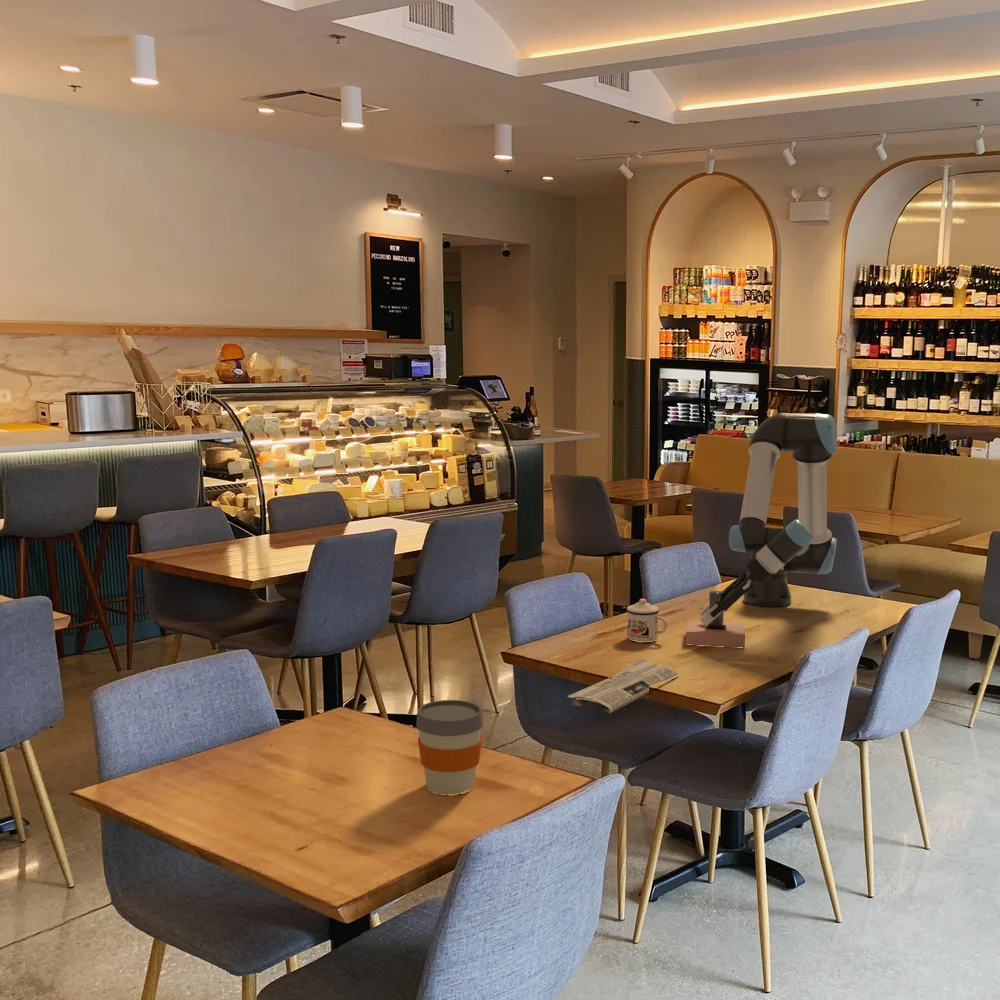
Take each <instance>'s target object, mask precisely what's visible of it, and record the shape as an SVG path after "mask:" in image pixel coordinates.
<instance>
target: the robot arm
mask: <svg viewBox="0 0 1000 1000" xmlns="http://www.w3.org/2000/svg"><path fill="white" fill-rule="evenodd" d="M747 451H748V454H749V456H750V459H749V464H748V470H747V471H748V472H747V476H746V481H745V482H746V483H745V489H744V493H743V500H742V504H741V510H740V511H741V512H740V518H739V523H738V524H734V525H731V527H730V528H729V529H730V530H729V534H728V544H729V545H728V546H729V548H730V550H731V551H734V552H739V553H740V552H741V553H750V554H749V555H750V556H749V560H747V562H745V564H744V566H745V567H746V569H747V570H748V571H747V572H746V571H743V572H742V573H741V574H740V575H739V576H738V577H737V578H736V579H735V580H734V581H732V582H731V583H730V584H729V585H727V587H726V588H724V589H722V590H721V591H722V592H724V598H723V599H722V600H721V601H720V602H719V603H718V602H717V601H716V602H715V603H716V604H715V605H714V606H713V607H712V608H711V609H710V610H709V604H708V605H706V606H705V608H703V609H702V610H701V611H700V612H699V614H700V615H701V616H700V617H699V619H698V621H701V622H702V623H703V624H704V625H705V626H707V625H708V624H710V623H711V622H712V621H713V620H714V619H715V618H716V617H717V616H719V615H720V614H721V613H722V612H723V611H724V612H727V611H728V610H729V609H730V608H731V607H732V606H733V605H734V604H735V603H737V601H738V600H739V599H741V597H742V598H743V600H742V601H743V602H744V603H746V604H749V605H753V606H759V607H771V608H773V607H777V608H778V607H784V606H789V605H791V604H792V594H791V591H790V588H789V584H788V581H787V574H788V573H789V572H790V573H803V574H814V575H828V574H830V573H831V572H832V570H833V565H834V561H835V554H836V551H837V550H836V549H837V543H838V542H837V541H838V539H837V538H835V537H833V534H832V531H831V530H830V529H829V528H828V514H827V513H828V510H827V509H828V480H827V479H828V477H827V476H828V465H827V464H828V462H829V461H830V460H831V459H832V457H833V454H835V453H836V452H837V451H838V432H837V425H836V421H835V418H834V416H832V415H830V414H827V413H825V414H824V413H820V412H815V413H804V412H803V413H800V412H797V413H796V412H793V413H789V412H778V413H776V414H773V415H771V416H769V417H768V418H766V419H765V420H763V421H762V423H760V425H758V427H757V428H756V429H755V431H754V432H753V434H752V436H751V438H750V441H749V446H748V449H747ZM782 452H792V459H793V460H794V461H795V462H796V463H797V494H798V495H797V500H798V501H797V503H798V505H797V506H798V507H797V509H798V511H797V512H798V518H797V519H794V520H792V521H791V522H790V523H788V524H787V525H786V526H785V527H784V528H783V527H782V528H781V527H769V526H768V527H766V526H767V522H768V521H767V520H768V513H769V507H770V503H771V496H772V495H771V494H772V489H773V484H774V483H773V482H774V477H775V470H776V465H777V464H776V462H777V460H778V459H780V457H781V454H782Z"/></svg>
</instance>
